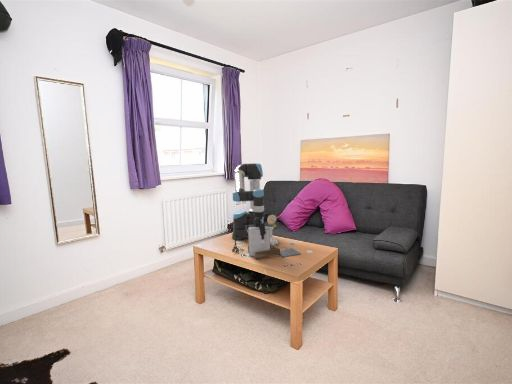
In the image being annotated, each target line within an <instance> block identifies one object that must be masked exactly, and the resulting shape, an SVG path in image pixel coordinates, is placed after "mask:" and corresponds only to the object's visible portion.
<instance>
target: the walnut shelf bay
mask: <svg viewBox="0 0 512 384" xmlns="http://www.w3.org/2000/svg"><path fill="white" fill-rule="evenodd" d="M280 250H281V249H280V248H279V247H278V246H276V244H275V245H274V244H272V243H271V242H270V250H266V251H260V252H255V256H254V257H255V260H256V261H257V260H262V259H268V258H274V257H279V256H281V255H280ZM247 253H248V254H249V245H247Z"/></svg>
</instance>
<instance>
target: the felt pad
mask: <svg viewBox="0 0 512 384" xmlns="http://www.w3.org/2000/svg"><path fill="white" fill-rule="evenodd" d="M301 254H302V253H301V252H300V251H297V250H296V249H295V248H288V249H287V248H286V249H280V256H281V257H283V258H286V257H292V256H293V257H294V256H298V255H301Z"/></svg>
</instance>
